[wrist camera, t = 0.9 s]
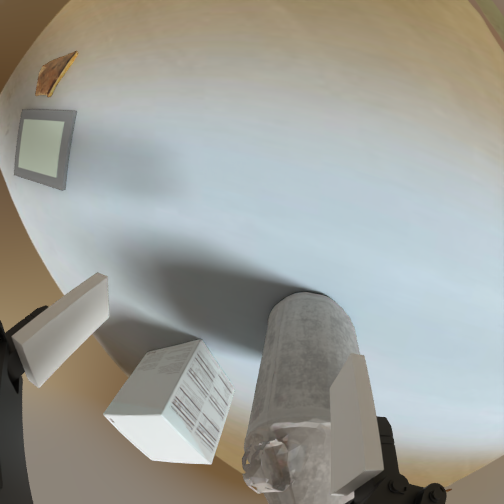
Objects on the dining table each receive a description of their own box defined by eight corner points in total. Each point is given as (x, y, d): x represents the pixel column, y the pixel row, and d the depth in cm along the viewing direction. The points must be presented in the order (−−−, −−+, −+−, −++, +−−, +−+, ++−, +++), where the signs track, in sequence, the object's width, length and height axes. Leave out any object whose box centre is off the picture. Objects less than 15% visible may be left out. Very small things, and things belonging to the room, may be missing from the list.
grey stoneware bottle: (321, 268, 38) (323, 634, 1) (369, 351, 41) (399, 596, 4) (246, 308, 42) (137, 589, 5) (302, 380, 45) (274, 605, 8)
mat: (24, 109, 37) (21, 109, 36) (77, 111, 36) (73, 110, 35) (16, 174, 42) (13, 175, 41) (65, 189, 41) (61, 190, 40)
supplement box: (182, 397, 52) (151, 461, 36) (146, 350, 49) (100, 413, 33) (237, 389, 48) (213, 465, 32) (201, 337, 45) (160, 414, 29)
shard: (82, 52, 32) (75, 50, 30) (75, 90, 35) (68, 89, 33) (46, 66, 33) (39, 65, 32) (40, 101, 36) (33, 100, 34)
